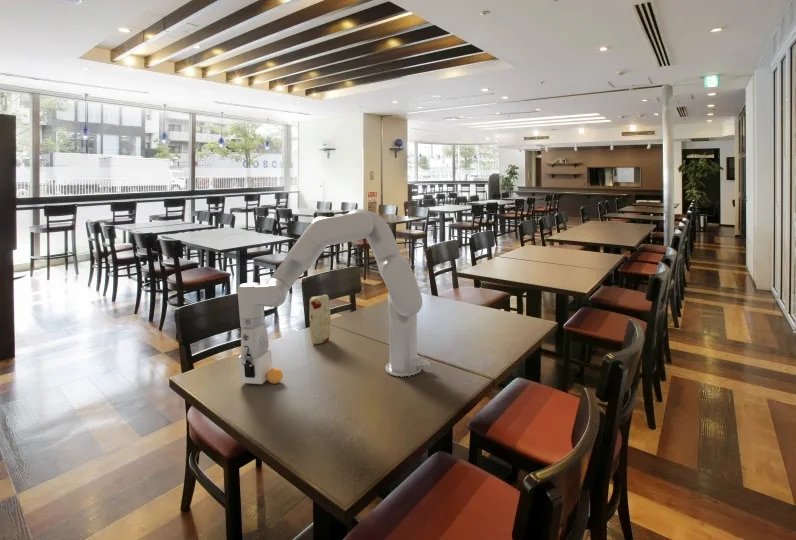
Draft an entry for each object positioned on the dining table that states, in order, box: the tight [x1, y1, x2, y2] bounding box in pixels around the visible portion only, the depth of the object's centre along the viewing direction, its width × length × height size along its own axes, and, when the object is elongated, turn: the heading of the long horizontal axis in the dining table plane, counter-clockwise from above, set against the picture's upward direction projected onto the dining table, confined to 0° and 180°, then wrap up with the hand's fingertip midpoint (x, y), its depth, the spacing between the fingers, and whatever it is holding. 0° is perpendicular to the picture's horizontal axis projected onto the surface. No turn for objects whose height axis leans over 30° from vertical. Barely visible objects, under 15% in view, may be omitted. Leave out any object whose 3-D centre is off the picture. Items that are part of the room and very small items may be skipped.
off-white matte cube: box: [237, 349, 273, 385], centre depth 151 cm, size 8×8×9 cm
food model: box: [308, 294, 332, 345], centre depth 186 cm, size 10×7×20 cm
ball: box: [267, 367, 284, 384], centre depth 150 cm, size 5×5×5 cm
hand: (256, 371), depth 151 cm, fingers closed on off-white matte cube, 7 cm apart
